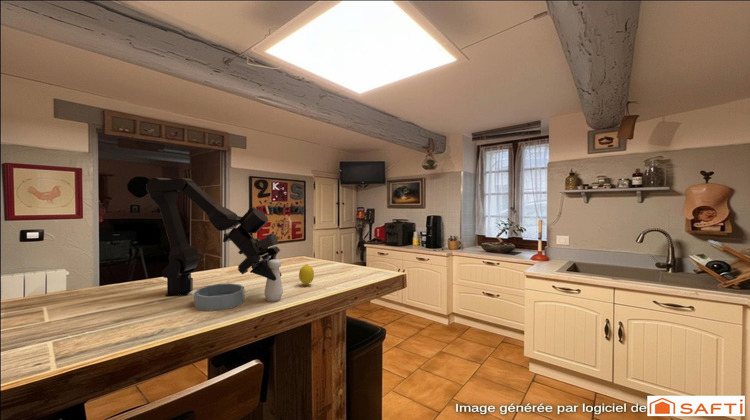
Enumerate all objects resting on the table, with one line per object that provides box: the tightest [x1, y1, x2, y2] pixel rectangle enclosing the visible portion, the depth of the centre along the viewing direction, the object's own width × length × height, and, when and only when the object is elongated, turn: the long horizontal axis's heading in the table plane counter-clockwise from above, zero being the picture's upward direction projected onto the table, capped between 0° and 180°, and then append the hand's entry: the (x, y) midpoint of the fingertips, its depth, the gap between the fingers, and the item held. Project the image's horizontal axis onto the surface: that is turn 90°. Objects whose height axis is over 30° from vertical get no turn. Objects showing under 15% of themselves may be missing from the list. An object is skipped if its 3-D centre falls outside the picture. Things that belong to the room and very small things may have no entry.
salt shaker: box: [264, 258, 284, 302], centre depth 103 cm, size 6×6×13 cm
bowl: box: [193, 282, 245, 312], centre depth 99 cm, size 14×14×4 cm
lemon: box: [298, 263, 315, 286], centre depth 119 cm, size 6×6×8 cm
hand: (278, 278), depth 102 cm, fingers closed on salt shaker, 3 cm apart
